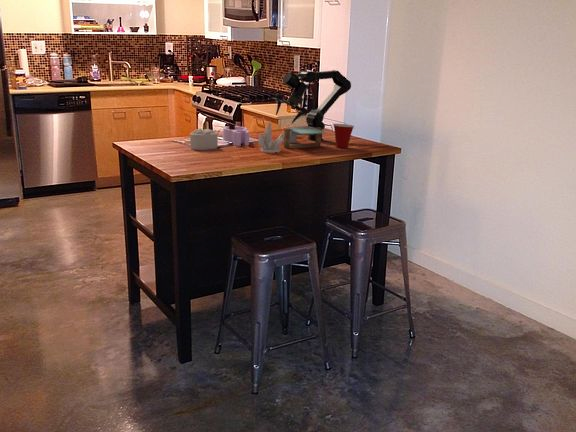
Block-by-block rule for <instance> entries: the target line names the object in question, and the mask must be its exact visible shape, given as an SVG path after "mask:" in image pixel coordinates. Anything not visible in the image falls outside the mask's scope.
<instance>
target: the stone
mask: <svg viewBox="0 0 576 432" xmlns="http://www.w3.org/2000/svg"><path fill="white" fill-rule="evenodd" d="M297 137H298V135H295V136H291V135H290V139H289V144H297Z"/></svg>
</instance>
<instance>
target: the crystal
mask: <svg viewBox="0 0 576 432" xmlns="http://www.w3.org/2000/svg"><path fill="white" fill-rule="evenodd" d="M259 133H260V134H259V137H258V138H257V141H258V142H257V143H258V145H259V146H261V148H260V151H261V152H263V153H268V154H269V153H270V154H274V153H275V152H277V153H281V152H282V149H281V148H279V147H280V146H281V145H282V143H284V132H282V133H281V134H280V135H279V136H278V137H276V139H275V140H273V136H272V135H273V133H272V123H271V120H269V121H268V123H267V125H266V127H265V129H264V131H263V134H262V133H261V132H259ZM280 151H281V152H280ZM275 154H276V153H275Z"/></svg>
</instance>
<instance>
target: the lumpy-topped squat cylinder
mask: <svg viewBox="0 0 576 432" xmlns="http://www.w3.org/2000/svg"><path fill="white" fill-rule="evenodd" d="M189 135H190V136H189V137H190V139H189V140H190V141H189V145H190V147H189V148H190V150H200V151H201V150H202V151H203V150H204V151H207V150H215V149H218V148H219V147H218V144H219V143H218V142H219V141H218V140H219V139H218V137H219V136H218V135H219V134H218V132H216V131H214V130H212V129H210V128H206V129H202V128H197V129H194V130H193V131H192V132H190V134H189Z"/></svg>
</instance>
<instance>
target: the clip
mask: <svg viewBox="0 0 576 432" xmlns="http://www.w3.org/2000/svg"><path fill="white" fill-rule="evenodd" d="M223 140H225V141H229V142H232V143H233V144H232V145H233V146H236V147H241V146H242V145H241V144H243V145H244V147H245V146H246V147H248V146H249V145H250V130H248V128H247V127H245V126H239V125H234V129H230V126H226V125H224V126H223V128H222V141H223Z"/></svg>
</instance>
